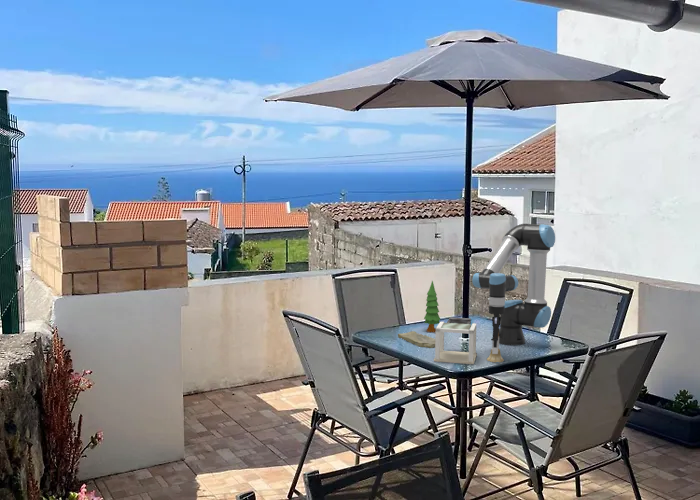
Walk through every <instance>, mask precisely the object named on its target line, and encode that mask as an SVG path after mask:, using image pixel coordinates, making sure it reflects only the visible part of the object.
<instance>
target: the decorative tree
mask: <svg viewBox="0 0 700 500" xmlns="http://www.w3.org/2000/svg"><path fill="white" fill-rule="evenodd" d="M426 295H427V297H426V300H425V301H426V303H425V304H426V305H425V307H426V309H425V315H424V318H423V319H424V320H425V321H424V324H428V327H427V328H426V332H427V333H436V327H435V325H438V324H439V323H440V322H441V321H440V320H441V317H440V315H439V313H440V310H439V308H438V306H440V305H439V303H438V297H437V296H438V295H437V292H436V289H435V285H434V281H433V280H431V284H430V286H429V289H428V291H427V294H426Z"/></svg>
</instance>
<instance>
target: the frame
mask: <svg viewBox="0 0 700 500" xmlns="http://www.w3.org/2000/svg"><path fill="white" fill-rule="evenodd" d="M439 322H440V323H438V324H437V326H436V327H435V329H436V332H435V336H434V337H435V338H434V339H435V348H434V349H435V350H434V352H435V353H434V358H433V361H434V362H438V363H451V364H452V363H453V364H462V365H464V364H465V365H475V361H476V358H477V357H478V356H477V355H478V353H477V352H476V351H477V323H475V322H474V323H473V322H471V323H472V324H471V327H470V330H466V329H449V328H442V326H443V325H444V323H445V321H439ZM445 333H451V334H452V333H453V334H468V351H454V350H453V351H452V350H444V349H445Z"/></svg>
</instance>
